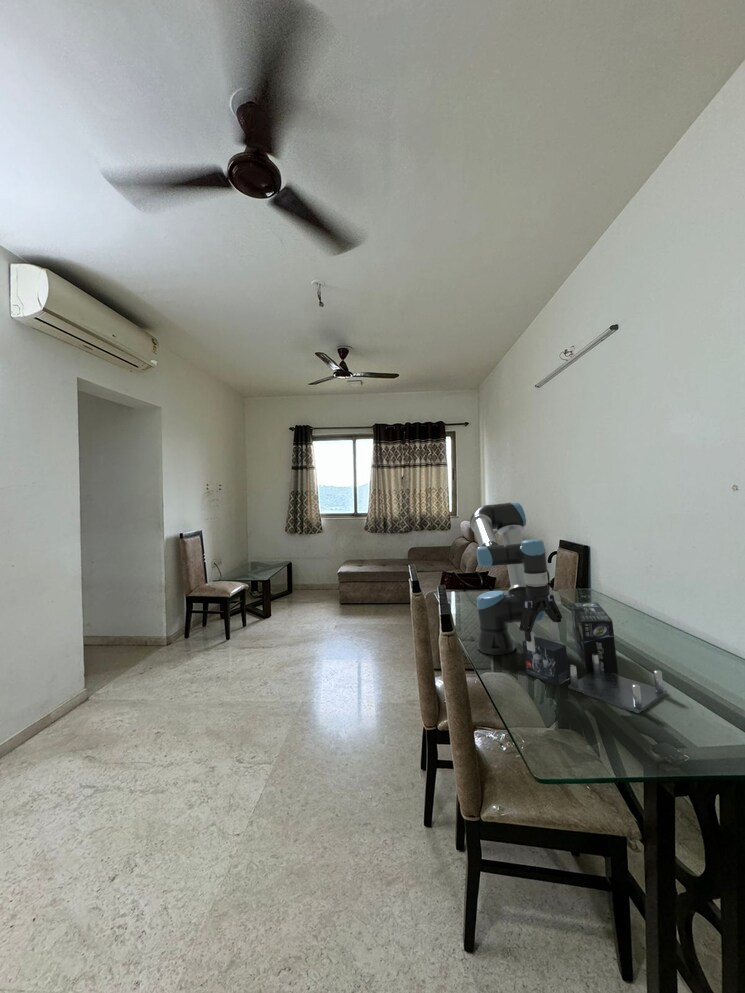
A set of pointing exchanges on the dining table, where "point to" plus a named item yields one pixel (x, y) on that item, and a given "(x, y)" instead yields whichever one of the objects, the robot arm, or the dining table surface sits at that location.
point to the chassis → (618, 688)
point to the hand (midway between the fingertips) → (544, 645)
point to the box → (594, 636)
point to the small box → (547, 661)
